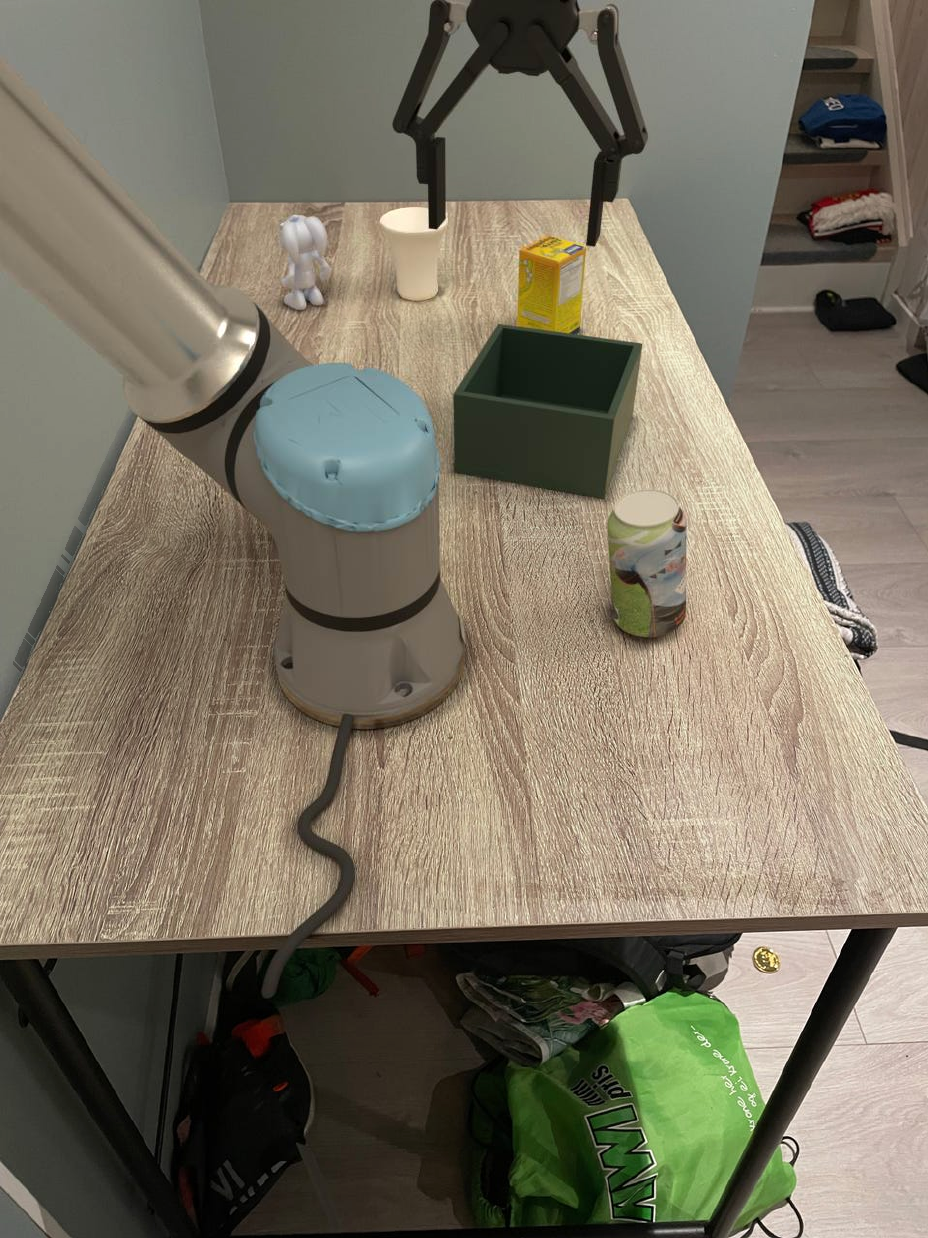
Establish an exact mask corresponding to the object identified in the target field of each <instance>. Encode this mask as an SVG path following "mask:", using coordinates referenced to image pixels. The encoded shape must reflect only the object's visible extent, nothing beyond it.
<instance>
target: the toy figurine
mask: <svg viewBox="0 0 928 1238" xmlns="http://www.w3.org/2000/svg"><path fill="white" fill-rule="evenodd" d="M278 228H279V229H278V233H279V239H280V240H279V241H280V242H279V244H280V247H281V249H282V250H284V251H285V252H287V257H286V263H287V265H288V273H287V274H286V276H284V277H283V278H282V279H281V285H282V287H283V288H284V289H292V290H293V291H291V292H288V293H287V294H286V295H285V296H284V297H283V303H284V305H286V306H288V307H289V308H292V309H293V310H296V311H304V310H306V309H307V301H308V302H309V303H310V304H311V305H312V306H317V307H318V306H323V304H324V297H323V294H322V292H321V291H320V289H319V288H318V287H317V285H316V282H317V281H316V275H315V271H314V267H313V260H314V261H317V262H318V263H319V265H320V266H321V270H320V272H319V273H318V277H319V278H320V279H321V280H322V281H325V280H328V279H329V278H330V277H331V276H332V269H331V266H330V265H329V264H328V262H327V261H326V259H325V258H324V256H325V254H326V251H327V247H328V246H327V245H328V234H327V230H326V228H325V226H324V224H323V222H322V221H321V219H319V218H318V217H317V216H314V215H310V216H308V217H307V216H305V215H302V214H292V215H291V216H289V217H288V218H287V219H286V220H284V221H283V222H281V223H280V224H279V225H278ZM314 245H315V248H313V247H314ZM302 289H304V291H303V290H302Z"/></svg>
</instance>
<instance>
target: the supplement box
mask: <svg viewBox="0 0 928 1238" xmlns="http://www.w3.org/2000/svg"><path fill="white" fill-rule="evenodd" d="M518 251H519V252H518V253H519V255H518V281H517V282H518V283H517V285H518V286H517V315H516V316H517V318H516V326H519V327H526V328H533V329H541V330H548V331H555V332H562V333H570V334H577V333H579V332H580V330H581V329H580V328H581V317H582V305H583V304H582V303H583V291H584V281H585V280H584V279H585V266H586V256H587V255H586V254H587V246H586V245H584V244H581V243H577V242H575V241H570V240H567V239H563V238H560V237H557V236H554V235H549V234H547V235H545V236H543V237H541V238H539V239H538V240H537V239H536V241H533V242H532V243H530V244H528V245H526V246H523V247H522V248H519V250H518Z"/></svg>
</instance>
